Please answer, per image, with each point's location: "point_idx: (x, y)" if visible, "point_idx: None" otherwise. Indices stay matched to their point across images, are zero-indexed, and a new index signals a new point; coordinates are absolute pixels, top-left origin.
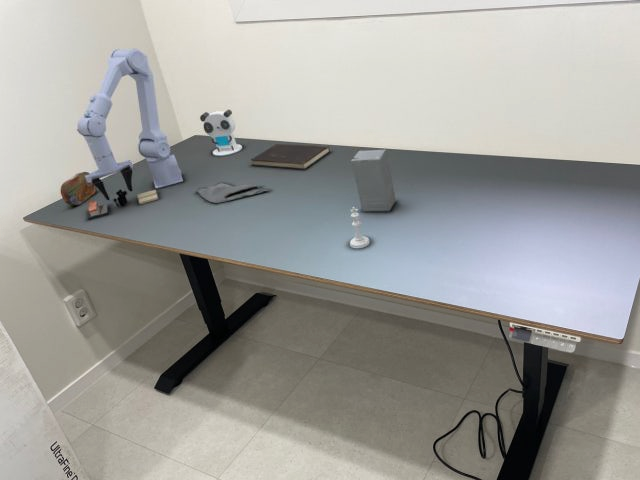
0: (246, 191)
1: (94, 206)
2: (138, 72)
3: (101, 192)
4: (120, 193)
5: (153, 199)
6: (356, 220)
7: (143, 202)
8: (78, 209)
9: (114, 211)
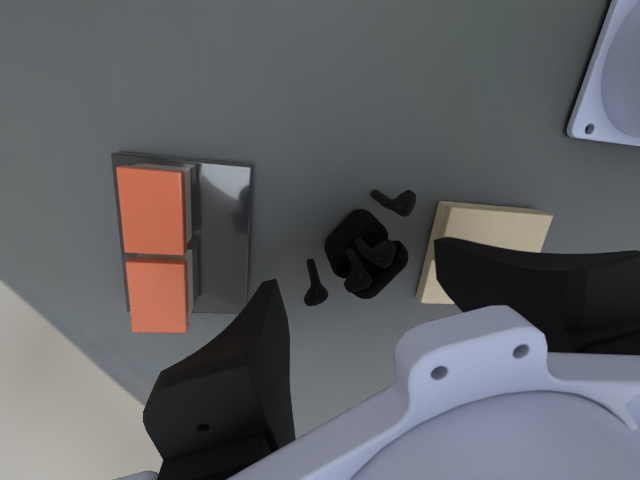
0: None
1: (170, 284)
2: None
3: (245, 308)
4: (371, 287)
5: None
6: None
7: (437, 300)
8: (10, 22)
9: (282, 286)
